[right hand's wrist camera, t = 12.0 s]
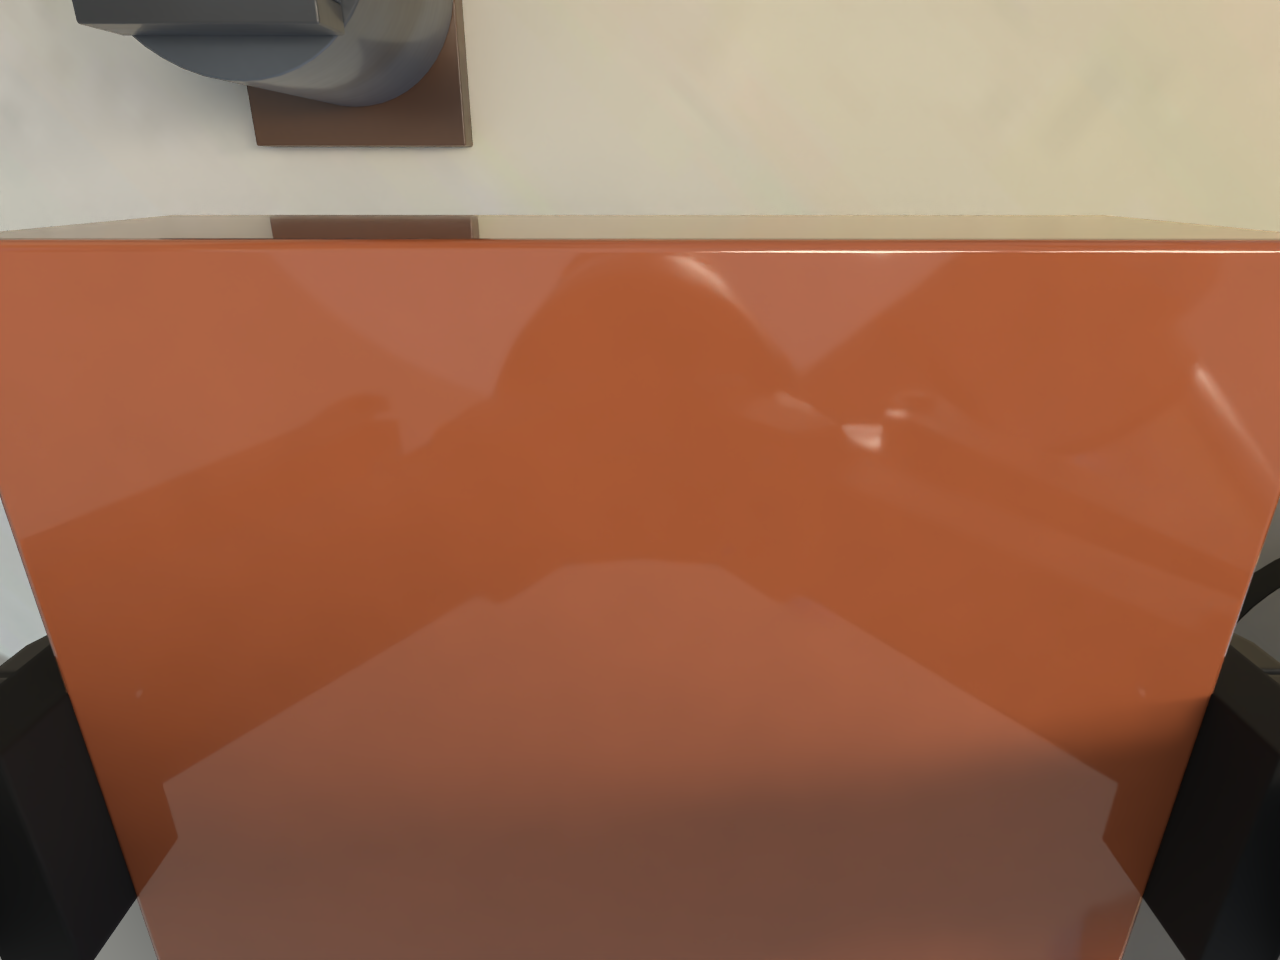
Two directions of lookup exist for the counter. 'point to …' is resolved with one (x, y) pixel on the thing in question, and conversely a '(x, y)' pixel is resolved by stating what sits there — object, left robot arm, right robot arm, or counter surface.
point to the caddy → (317, 63)
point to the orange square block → (639, 570)
